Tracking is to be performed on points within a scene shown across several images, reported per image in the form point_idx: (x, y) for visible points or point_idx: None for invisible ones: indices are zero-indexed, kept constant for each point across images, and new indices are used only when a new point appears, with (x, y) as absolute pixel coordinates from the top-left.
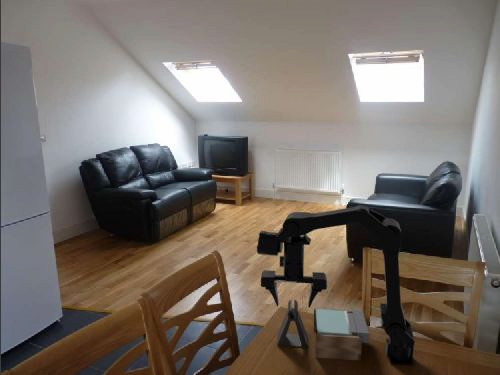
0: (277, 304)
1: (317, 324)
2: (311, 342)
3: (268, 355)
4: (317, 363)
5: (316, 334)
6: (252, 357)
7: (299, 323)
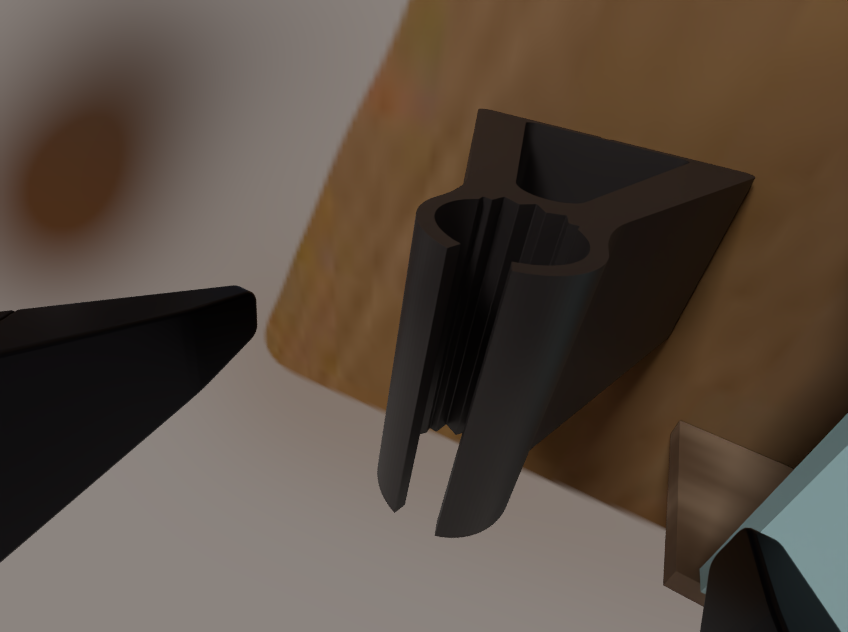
0: (222, 357)
1: (782, 519)
2: (738, 282)
3: (393, 321)
4: (656, 477)
5: (676, 580)
6: (320, 310)
7: (562, 415)
